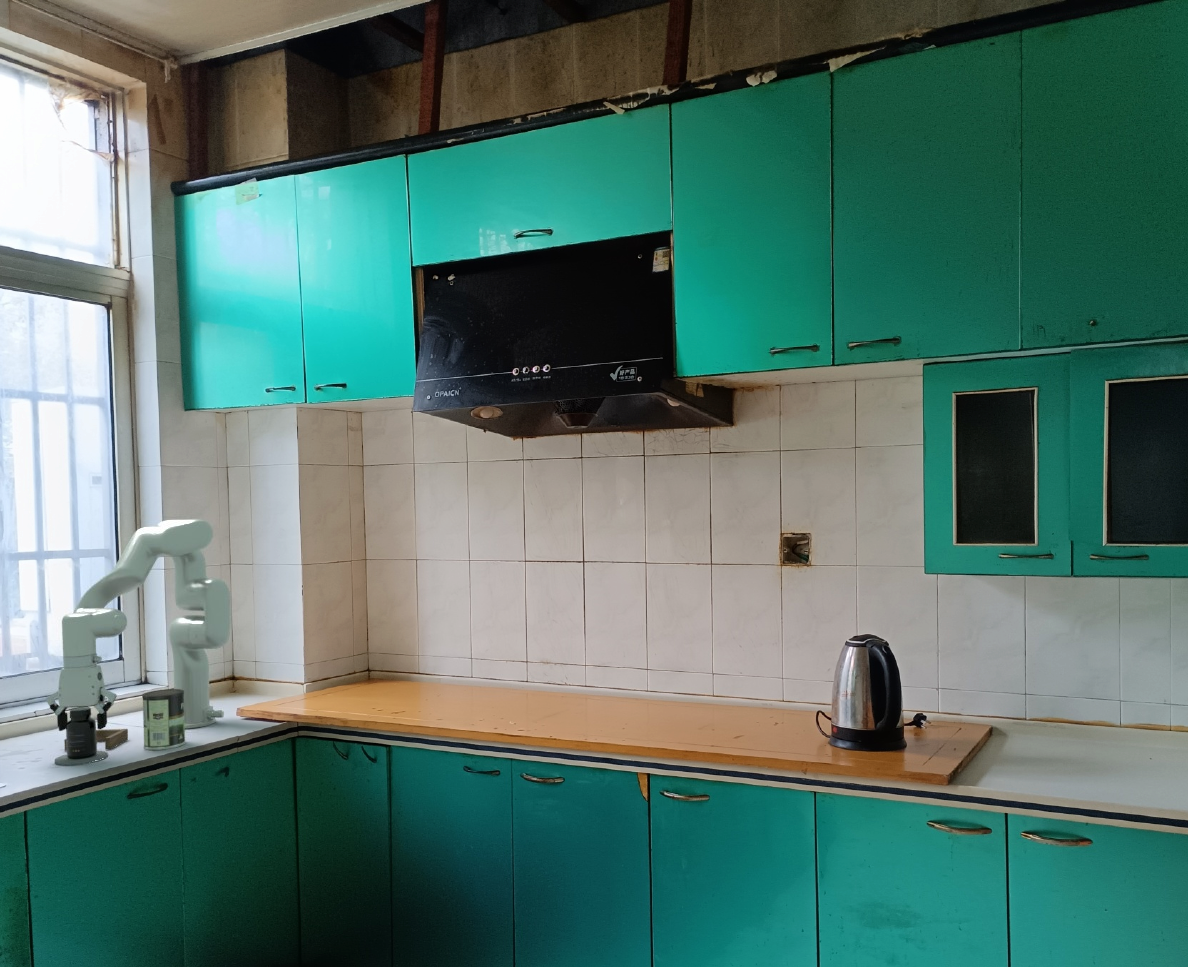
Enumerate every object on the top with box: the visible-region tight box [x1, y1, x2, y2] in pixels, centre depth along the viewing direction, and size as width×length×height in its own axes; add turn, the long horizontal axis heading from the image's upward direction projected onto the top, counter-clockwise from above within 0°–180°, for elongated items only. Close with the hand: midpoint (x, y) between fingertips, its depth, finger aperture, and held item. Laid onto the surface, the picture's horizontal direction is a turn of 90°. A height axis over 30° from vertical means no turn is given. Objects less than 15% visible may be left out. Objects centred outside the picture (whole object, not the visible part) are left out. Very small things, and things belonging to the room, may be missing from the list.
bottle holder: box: [63, 728, 129, 752], centre depth 268 cm, size 12×11×3 cm
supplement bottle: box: [65, 707, 98, 760], centre depth 254 cm, size 7×7×12 cm
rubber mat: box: [54, 750, 109, 766], centre depth 253 cm, size 12×12×1 cm
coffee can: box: [141, 688, 186, 751], centre depth 266 cm, size 10×10×14 cm
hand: (82, 728), depth 254 cm, fingers open, 9 cm apart
